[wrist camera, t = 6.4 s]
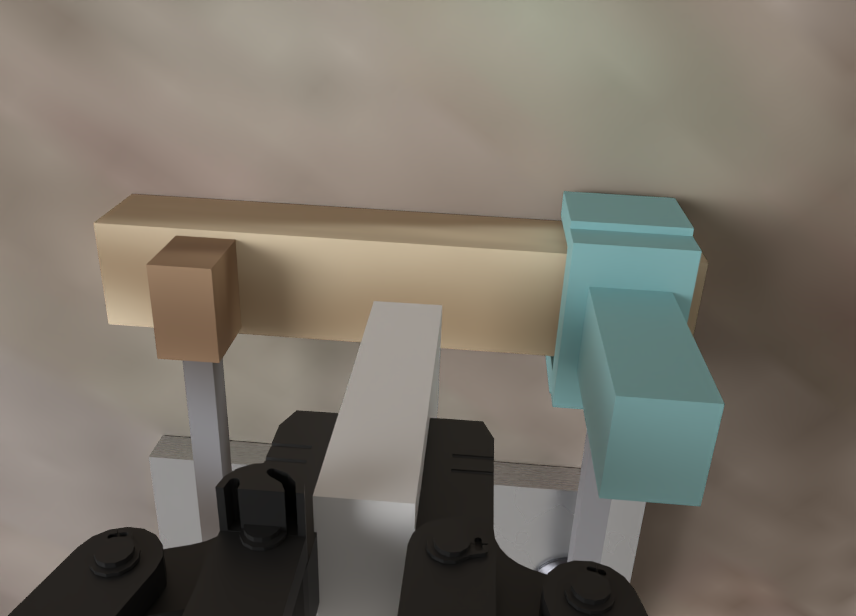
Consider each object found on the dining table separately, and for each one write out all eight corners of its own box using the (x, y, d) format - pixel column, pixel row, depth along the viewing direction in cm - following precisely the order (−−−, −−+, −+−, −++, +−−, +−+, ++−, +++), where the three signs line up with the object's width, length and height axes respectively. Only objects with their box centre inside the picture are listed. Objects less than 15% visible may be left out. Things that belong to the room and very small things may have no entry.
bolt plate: (162, 435, 27) (147, 459, 26) (640, 473, 26) (647, 500, 25) (184, 609, 31) (171, 638, 29) (607, 648, 30) (612, 678, 29)
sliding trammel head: (563, 191, 22) (598, 332, 14) (674, 197, 22) (767, 344, 14) (518, 576, 28) (526, 816, 21) (605, 584, 28) (644, 828, 20)
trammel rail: (131, 194, 24) (56, 250, 19) (687, 229, 23) (728, 296, 19) (175, 538, 29) (124, 637, 25) (620, 576, 28) (641, 686, 24)
